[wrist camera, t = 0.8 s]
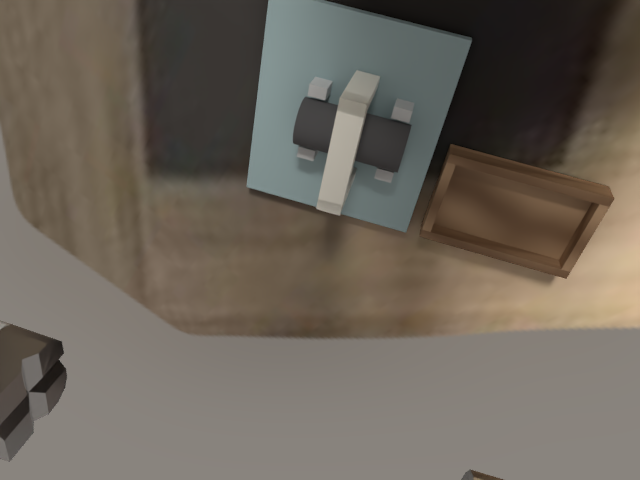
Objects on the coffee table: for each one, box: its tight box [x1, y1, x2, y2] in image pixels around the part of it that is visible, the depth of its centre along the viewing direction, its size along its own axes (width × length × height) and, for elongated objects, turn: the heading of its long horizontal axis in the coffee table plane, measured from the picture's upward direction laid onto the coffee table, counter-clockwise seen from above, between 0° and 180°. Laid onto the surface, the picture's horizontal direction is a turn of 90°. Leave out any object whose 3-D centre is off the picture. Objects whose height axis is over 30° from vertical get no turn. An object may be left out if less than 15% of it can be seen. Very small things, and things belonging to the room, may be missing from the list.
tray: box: [420, 144, 614, 278], centre depth 47 cm, size 9×14×2 cm, turn 79°
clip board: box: [247, 0, 472, 233], centre depth 45 cm, size 18×16×3 cm
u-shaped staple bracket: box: [316, 70, 380, 216], centre depth 43 cm, size 10×2×7 cm, turn 169°
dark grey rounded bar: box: [293, 97, 412, 173], centre depth 44 cm, size 4×9×4 cm, turn 79°
